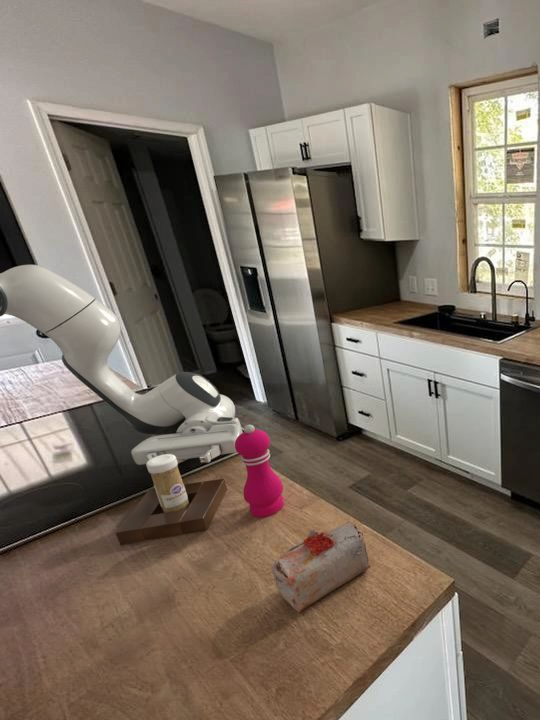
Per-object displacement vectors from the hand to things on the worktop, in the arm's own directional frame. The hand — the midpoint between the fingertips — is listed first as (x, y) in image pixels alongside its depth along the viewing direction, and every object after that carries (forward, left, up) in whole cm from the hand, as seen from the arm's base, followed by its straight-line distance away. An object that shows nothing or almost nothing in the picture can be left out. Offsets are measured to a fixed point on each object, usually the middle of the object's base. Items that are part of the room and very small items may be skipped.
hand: (177, 463), depth 87 cm
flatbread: (-20, +7, -9) cm, 23 cm away
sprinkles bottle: (+4, -4, -9) cm, 11 cm away
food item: (+45, -2, -9) cm, 46 cm away
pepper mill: (+18, +6, -9) cm, 21 cm away
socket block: (+4, -4, -9) cm, 11 cm away
